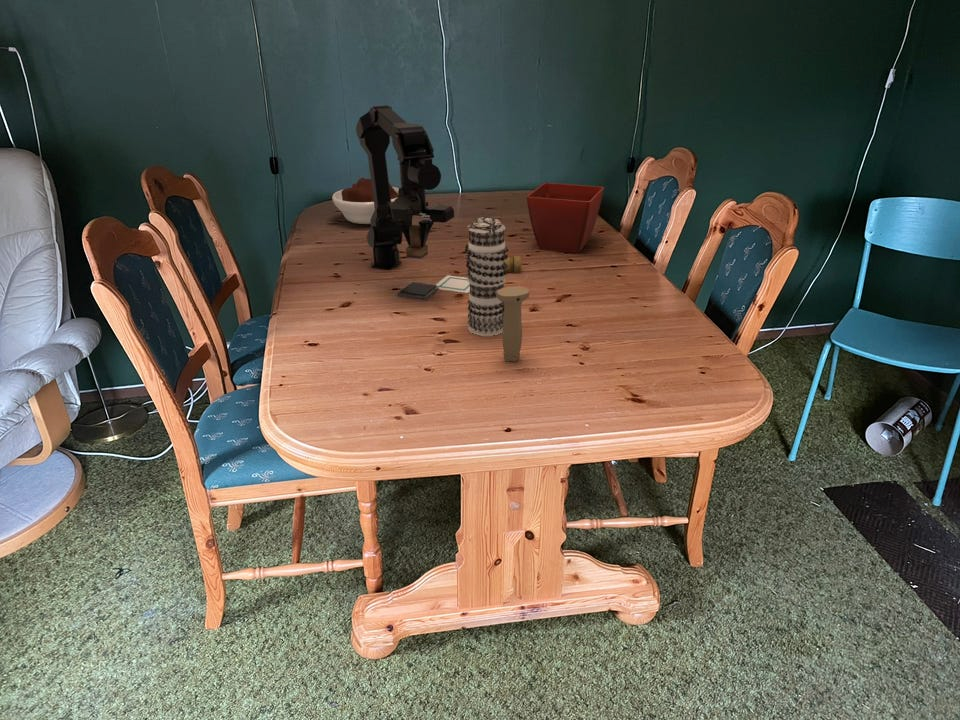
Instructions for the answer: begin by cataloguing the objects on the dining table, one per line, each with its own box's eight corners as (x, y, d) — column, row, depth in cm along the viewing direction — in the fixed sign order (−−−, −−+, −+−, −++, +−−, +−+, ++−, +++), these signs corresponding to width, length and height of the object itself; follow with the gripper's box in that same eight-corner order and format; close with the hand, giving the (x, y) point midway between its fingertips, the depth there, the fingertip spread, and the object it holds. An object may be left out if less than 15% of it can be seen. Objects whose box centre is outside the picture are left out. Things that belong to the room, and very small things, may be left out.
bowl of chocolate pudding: (319, 223, 222) (314, 179, 215) (370, 208, 240) (366, 167, 233) (373, 235, 209) (368, 189, 202) (421, 218, 227) (419, 175, 220)
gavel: (482, 240, 194) (515, 240, 195) (482, 255, 196) (515, 255, 196) (485, 258, 175) (521, 258, 175) (485, 275, 177) (521, 274, 177)
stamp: (406, 257, 160) (404, 228, 156) (413, 252, 163) (411, 223, 160) (421, 258, 158) (419, 229, 155) (427, 254, 162) (426, 225, 158)
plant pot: (523, 251, 194) (525, 195, 187) (542, 233, 210) (544, 181, 202) (585, 258, 188) (590, 201, 180) (600, 240, 204) (604, 186, 196)
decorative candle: (493, 340, 140) (494, 229, 129) (458, 331, 145) (456, 222, 133) (514, 325, 147) (516, 218, 135) (480, 317, 151) (479, 212, 140)
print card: (432, 288, 168) (432, 287, 168) (447, 275, 176) (447, 274, 176) (467, 293, 165) (467, 292, 164) (481, 280, 173) (481, 279, 173)
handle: (492, 356, 134) (493, 289, 127) (520, 351, 136) (522, 284, 129) (502, 366, 130) (503, 298, 123) (530, 361, 132) (533, 293, 125)
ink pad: (397, 296, 163) (397, 291, 162) (411, 285, 170) (411, 281, 169) (426, 300, 160) (425, 295, 160) (439, 289, 167) (438, 284, 166)
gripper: (361, 186, 149) (367, 251, 156) (434, 191, 143) (437, 259, 150) (384, 177, 158) (389, 239, 165) (453, 181, 152) (456, 245, 159)
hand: (416, 245), depth 160 cm, fingers closed on stamp, 3 cm apart
